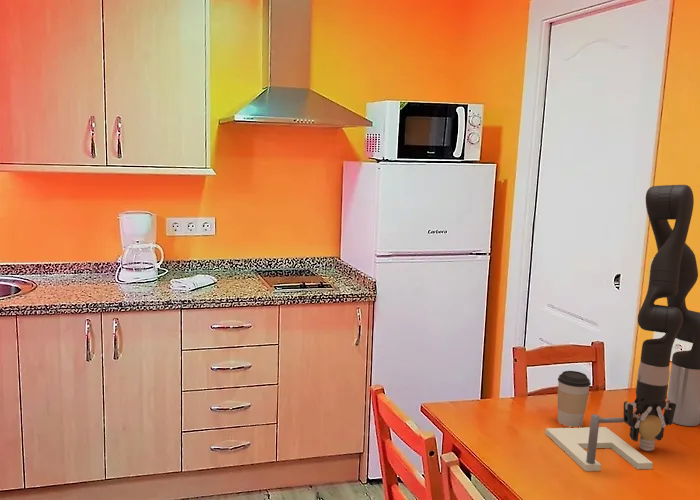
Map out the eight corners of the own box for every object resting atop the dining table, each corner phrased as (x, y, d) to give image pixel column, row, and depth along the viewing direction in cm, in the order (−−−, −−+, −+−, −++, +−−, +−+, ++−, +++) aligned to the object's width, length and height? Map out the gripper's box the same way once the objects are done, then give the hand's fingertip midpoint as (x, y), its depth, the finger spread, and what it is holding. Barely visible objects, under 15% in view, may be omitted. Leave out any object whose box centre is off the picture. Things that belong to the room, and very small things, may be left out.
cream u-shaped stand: (605, 432, 191) (610, 386, 189) (652, 468, 170) (658, 417, 168) (545, 433, 188) (549, 386, 186) (585, 471, 166) (591, 418, 164)
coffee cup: (582, 418, 201) (587, 369, 198) (589, 430, 192) (595, 379, 189) (550, 415, 201) (555, 367, 199) (557, 427, 192) (562, 377, 190)
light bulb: (648, 456, 177) (651, 420, 175) (628, 446, 182) (631, 411, 181) (665, 451, 180) (668, 415, 178) (644, 442, 185) (647, 407, 184)
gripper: (668, 374, 183) (661, 433, 186) (619, 375, 181) (613, 434, 183) (686, 384, 176) (679, 445, 178) (636, 384, 173) (629, 446, 176)
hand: (645, 439), depth 181 cm, fingers closed on light bulb, 6 cm apart
